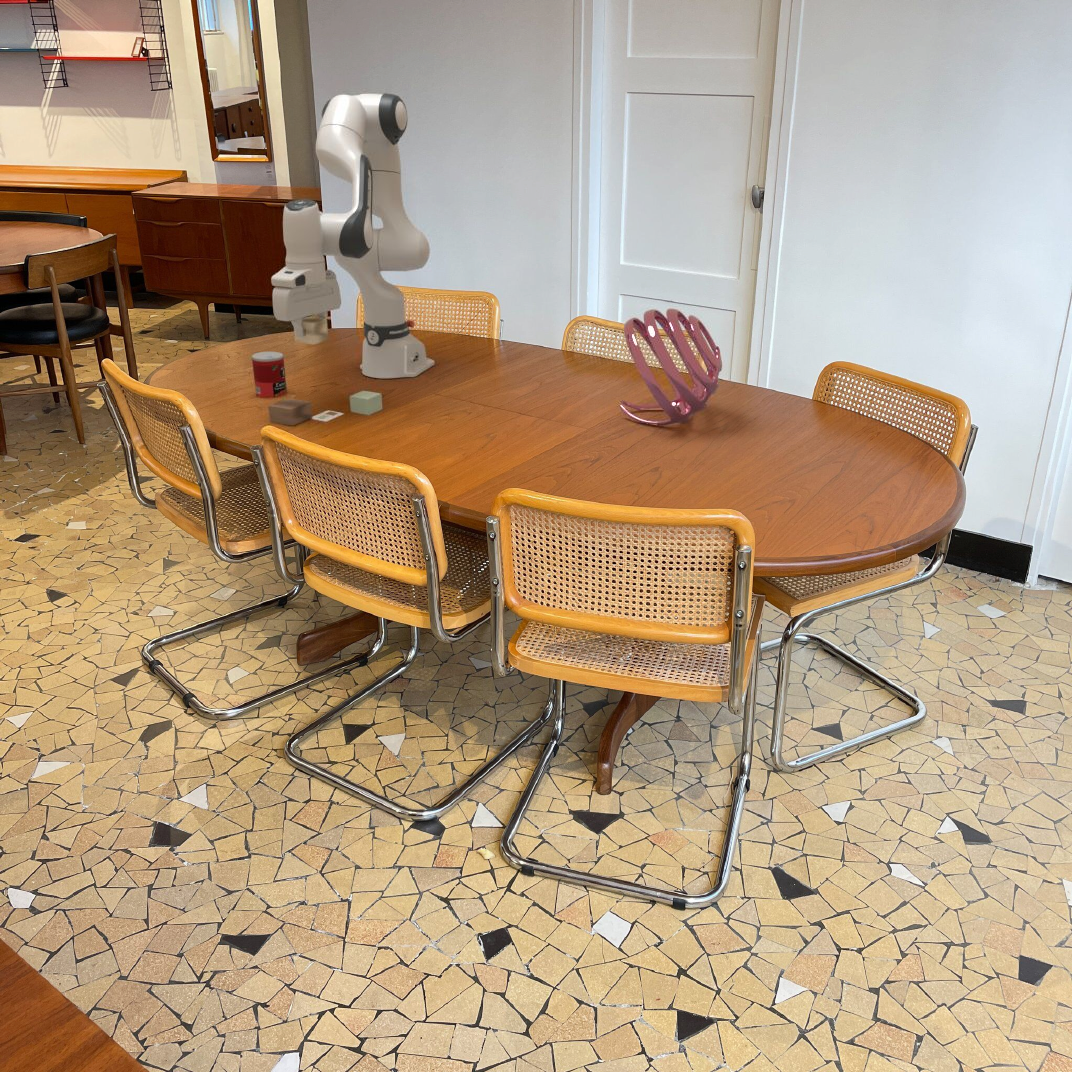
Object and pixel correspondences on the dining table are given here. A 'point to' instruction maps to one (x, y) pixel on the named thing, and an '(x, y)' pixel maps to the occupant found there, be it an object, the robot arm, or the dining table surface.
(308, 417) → the walnut base
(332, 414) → the board
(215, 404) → the dining table surface
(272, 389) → the canned food
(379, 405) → the sage cube
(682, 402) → the spiral basket
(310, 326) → the birch cube
